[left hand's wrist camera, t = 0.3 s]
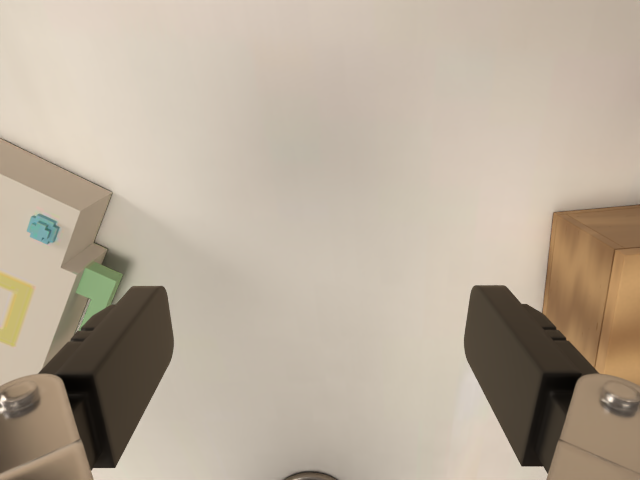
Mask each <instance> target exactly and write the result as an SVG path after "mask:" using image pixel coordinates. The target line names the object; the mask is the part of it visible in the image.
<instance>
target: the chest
mask: <svg viewBox="0 0 640 480" xmlns="http://www.w3.org/2000/svg"><path fill="white" fill-rule="evenodd" d="M630 248H640V205H632V206H621V207H610V208H599V209H587V210H576V211H565V212H554V213H553V222H552V231H551V241H550V250H549V259H548V268H547V277H546V286H545V295H544V304H543V314H544V315H545V316H546V317H547V318H548V319H549V320H550V321H551V322H552V323H553V324H554V325H555V326H556V329H557V330H559V331H560V332H561V333H562V334H563V335H564V336H565V337H566V340H567V341H570V342H571V343H572V345H573V346H574V347H575V348H576V349H577V350H578V351H579V352H580V353H581V354H582V355H583V356H584V357H585V359H586V360H587V361H588V362H589V363H590V364H591V365H592V366H593V367H594V368H595V366H596V360H597V354H598V348H599V342H600V336H601V330H602V325H603V319H604V313H605V307H606V301H607V295H608V289H609V284H610V278H611V272H612V266H613V260H614V254H615V250H619V249H630Z"/></svg>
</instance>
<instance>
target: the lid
mask: <svg viewBox="0 0 640 480" xmlns="http://www.w3.org/2000/svg"><path fill="white" fill-rule="evenodd" d="M595 369H596V370H597V371H598V372H599V374H607V375H612V376H616V377H620V378H623V379H625V380H628V381H631V382H633V383H635V384H637V385H639V386H640V248H630V249H619V250H615V254H614V260H613V266H612V272H611V278H610V284H609V289H608V295H607V301H606V307H605V313H604V319H603V325H602V330H601V336H600V342H599V348H598V354H597V360H596V366H595Z"/></svg>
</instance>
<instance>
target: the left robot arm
mask: <svg viewBox="0 0 640 480" xmlns="http://www.w3.org/2000/svg"><path fill="white" fill-rule="evenodd" d="M173 347H174V338H173V331H172V324H171V317H170V310H169V303H168V297H167V292H166V289H165V288H164V287H163V286H133V287H131V288H130V289H129V290H128V291H127V293H126V294H125V295H124V296H123V297H122V298H121V299H120V300H119V302H118V303H117V304H116V305H110V306H108V307H106V308H105V309H103V310H101V311H99V312H98V313H96V314H94V315H93V316H92V317H91V318H90V319H89V320H88V321H87V322H86V323H85V324H84V325H83V326H82V327H81V330H80V331H77V333H76V334H75V335H74V336H73V337H72V338H71V341H70V342H67V343H66V344H65V345H64V346H63V347H62V348H61V350H60V351H59V352H58V353H57V354H56V355H55V356H54V357H53V358H52V359H51V360H50V361H49V362H48V363H47V364H46V366H45V367H44V368H43V369H42V370H41V371H40V372H39V373H38V374H33V375H28V376H24V377H20V378H17V379H15V380H12V381H9V382H7V383H5V384H3V385H1V386H0V480H93V476H92V473H91V470H92V469H93V468H115V467H116V465H117V463H118V461H119V459H120V457H121V456H122V454H123V452H124V450H125V448H126V446H127V444H128V442H129V440H130V438H131V436H132V434H133V432H134V431H135V429H136V427H137V425H138V423H139V421H140V419H141V417H142V415H143V413H144V411H145V409H146V407H147V406H148V404H149V402H150V400H151V398H152V396H153V394H154V392H155V390H156V388H157V386H158V384H159V382H160V381H161V379H162V377H163V375H164V373H165V371H166V369H167V367H168V365H169V363H170V361H171V358H172V354H173ZM464 348H465V354H466V358H467V361H468V363H469V365H470V367H471V369H472V371H473V373H474V375H475V377H476V378H477V380H478V382H479V384H480V386H481V388H482V390H483V392H484V394H485V396H486V398H487V400H488V402H489V404H490V406H491V408H492V410H493V412H494V414H495V415H496V417H497V419H498V421H499V423H500V425H501V427H502V429H503V431H504V433H505V435H506V437H507V439H508V441H509V443H510V445H511V447H512V449H513V451H514V452H515V454H516V456H517V458H518V460H519V462H520V464H521V466H544V468H545V470H546V472H547V473H548V476H547V480H640V386H639V385H637V384H635V383H633V382H631V381H628V380H625V379H623V378H620V377H616V376H612V375H607V374H599V372H598V371H597V370H596V369H595V368H594V367H593V366H592V365H591V364H590V363H589V362H588V361H587V360H586V359H585V357H584V356H583V355H582V354H581V353H580V352H579V351H578V350H577V349H576V348H575V347H574V346H573V345H572V343H571V342H570V341H567V340H566V337H565V336H564V335H563V334H562V333H561V332H560V331H559V330H557V329H556V326H555V325H554V324H553V323H552V322H551V321H550V320H549V319H548V318H547V317H546V316H545V315H544V314H543V313H541V312H539V311H537V310H536V309H534V308H532V307H531V306H529V305H527V304H521V303H520V302H519V301H518V299H517V298H516V297H515V296H514V295H513V294H512V293H511V291H510V290H509V289H508V288H507V287H506V286H503V285H476V286H474V287H473V288H472V290H471V294H470V301H469V308H468V314H467V321H466V328H465V335H464ZM285 480H336V479H334V478H333V477H330V476H328V475H325V474H321V473H315V472H306V473H300V474H296V475H293V476H291V477H289V478H287V479H285Z"/></svg>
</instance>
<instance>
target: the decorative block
mask: <svg viewBox="0 0 640 480" xmlns="http://www.w3.org/2000/svg"><path fill="white" fill-rule="evenodd" d="M111 195H112V192H110V191H108V190H106V189H104V188H102V187H100V186H98V185H96V184H93V183H91V182H89V181H87V180H85V179H83V178H81V177H79V176H77V175H75V174H73V173H71V172H69V171H66V170H64V169H62V168H60V167H58V166H56V165H54V164H52V163H50V162H48V161H46V160H44V159H42V158H39V157H37V156H35V155H33V154H31V153H29V152H27V151H25V150H23V149H21V148H19V147H17V146H15V145H12V144H10V143H8V142H6V141H4V140H2V139H0V386H1V385H3V384H5V383H7V382H9V381H12V380H15V379H17V378H20V377H24V376H28V375H33V374H38V373H39V372H40V371H41V370H42V369H43V368H44V367H45V366H46V364H47V363H48V362H49V361H50V360H51V359H52V358H53V357H54V356H55V355H56V354H57V353H58V352H59V351H60V350H61V348H62V347H63V346H64V345H65V344H66V343H67V342H70V341H71V338H72V337H73V336H74V334H75V331H76V329H77V326H78V324H79V321H80V318H81V316H82V313H83V311H84V308H85V306H86V303H87V301H88V298H89V299H91V301H90V304H89V306H88V309H87V311H86V314H85V316H84V319H83V321H82V324H81V326H80V329H79V331H80V330H81V327H82V326H83V325H84V324H85V323H86V322H87V321H88V320H89V319H90V318H91V317H92V316H93V315H94V314H96V313H98V312H99V311H101V310H103V309H105V308H106V307H108V306H110V305H111V302H112V300H113V298H114V295H115V293H116V290H117V288H118V286H119V283H120V281H121V278H122V276H123V274H121V273H119V272H116V271H114V270H112V269H110V268H108V267H105V266H103V265H102V262H103V260H104V257H105V255H106V252H107V250H108V249H106V248H104V247H102V246H100V245H98V244H95V243H94V240H95V237H96V235H97V232H98V230H99V227H100V224H101V222H102V219H103V216H104V214H105V211H106V208H107V206H108V203H109V200H110V198H111Z"/></svg>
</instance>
